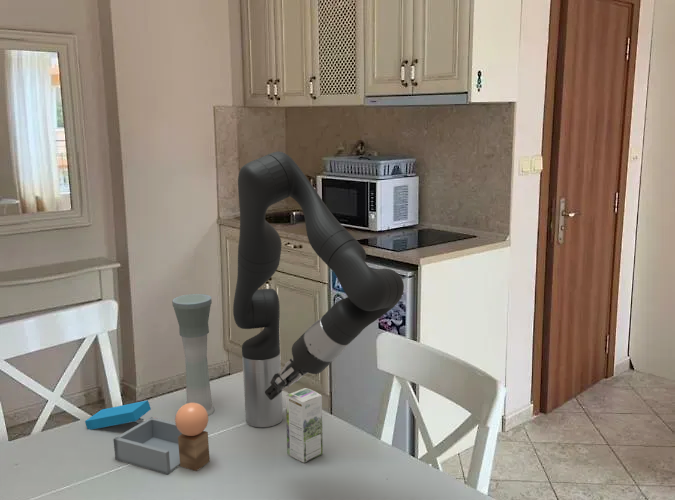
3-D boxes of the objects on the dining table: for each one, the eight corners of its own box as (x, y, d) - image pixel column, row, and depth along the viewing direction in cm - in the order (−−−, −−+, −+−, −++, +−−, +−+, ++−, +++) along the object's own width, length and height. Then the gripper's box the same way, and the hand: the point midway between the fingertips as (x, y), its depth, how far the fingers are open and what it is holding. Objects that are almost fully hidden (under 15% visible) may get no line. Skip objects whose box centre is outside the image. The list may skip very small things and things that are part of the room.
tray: (203, 449, 154) (201, 429, 153) (167, 474, 144) (165, 452, 143) (153, 436, 161) (151, 417, 160) (115, 459, 151) (113, 438, 150)
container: (214, 419, 169) (207, 303, 163) (176, 420, 169) (167, 304, 163) (221, 403, 179) (214, 293, 173) (185, 404, 179) (177, 294, 173)
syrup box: (306, 445, 155) (304, 386, 152) (323, 454, 151) (322, 393, 148) (287, 455, 151) (284, 394, 148) (304, 464, 147) (302, 401, 144)
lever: (94, 447, 167) (154, 436, 161) (84, 421, 166) (145, 409, 160) (110, 434, 173) (169, 424, 167) (101, 409, 172) (160, 397, 166)
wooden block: (209, 461, 149) (207, 431, 148) (196, 471, 145) (194, 440, 144) (193, 457, 151) (191, 427, 150) (180, 466, 147) (177, 436, 146)
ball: (186, 425, 151) (184, 395, 149) (215, 429, 149) (213, 399, 147) (170, 439, 144) (167, 409, 143) (199, 443, 142) (197, 412, 141)
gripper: (325, 319, 133) (275, 369, 141) (290, 339, 122) (238, 392, 130) (350, 348, 132) (298, 397, 140) (316, 371, 120) (262, 423, 128)
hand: (269, 395), depth 135 cm, fingers closed
